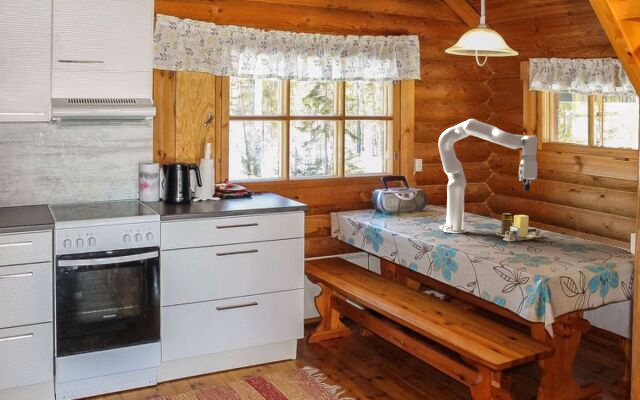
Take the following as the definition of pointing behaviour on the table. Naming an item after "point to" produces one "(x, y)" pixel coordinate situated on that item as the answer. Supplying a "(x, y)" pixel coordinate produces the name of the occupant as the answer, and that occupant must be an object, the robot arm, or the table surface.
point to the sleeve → (521, 224)
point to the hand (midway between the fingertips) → (526, 190)
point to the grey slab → (517, 232)
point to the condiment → (505, 223)
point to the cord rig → (510, 237)
